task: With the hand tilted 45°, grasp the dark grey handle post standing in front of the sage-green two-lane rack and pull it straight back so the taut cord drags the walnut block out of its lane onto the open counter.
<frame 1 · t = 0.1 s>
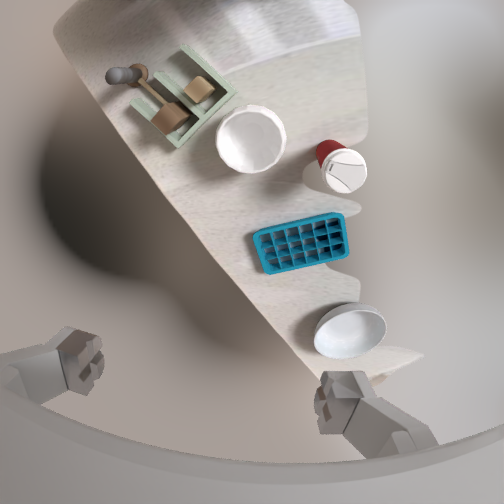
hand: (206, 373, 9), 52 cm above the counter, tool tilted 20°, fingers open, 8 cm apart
lane rack: (183, 93, 50), on the counter
white deep bowl: (252, 132, 54), on the counter
ice cube tray: (301, 238, 67), on the counter
tethered walnut block: (137, 75, 47), on the counter
oak block: (205, 88, 49), resting in lane rack
serving bowl: (346, 319, 80), on the counter
paper cup: (329, 152, 55), on the counter
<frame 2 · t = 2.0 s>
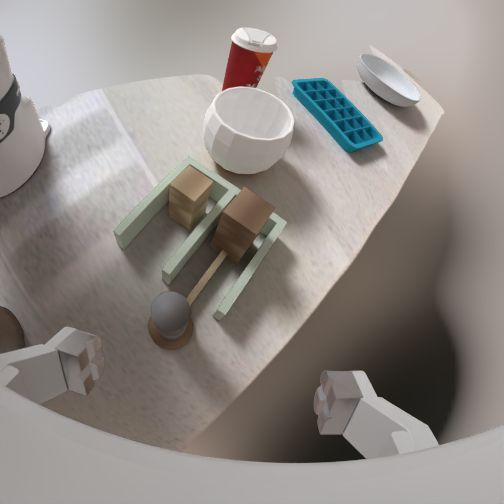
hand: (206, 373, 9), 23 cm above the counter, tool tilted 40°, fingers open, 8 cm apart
lane rack: (197, 242, 36), on the counter
white deep bowl: (237, 157, 44), on the counter
ice cube tray: (332, 118, 56), on the counter
tethered walnut block: (170, 327, 32), on the counter
oak block: (186, 213, 38), resting in lane rack
serving bowl: (379, 91, 69), on the counter
paper cup: (235, 96, 50), on the counter
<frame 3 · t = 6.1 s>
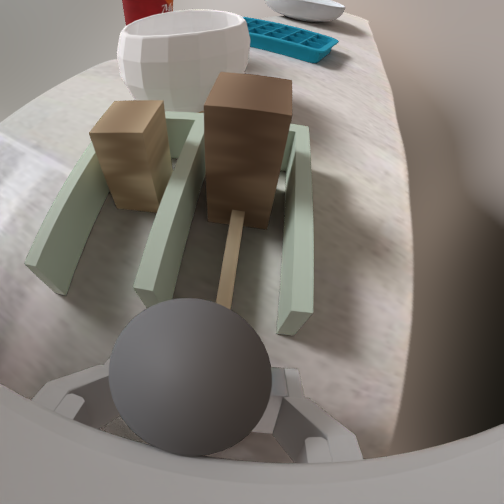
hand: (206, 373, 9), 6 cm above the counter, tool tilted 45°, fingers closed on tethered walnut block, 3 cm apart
lane rack: (183, 224, 19), on the counter
white deep bowl: (185, 104, 27), on the counter
ice cube tray: (272, 45, 41), on the counter
tethered walnut block: (211, 396, 14), on the counter, touching gripper
oak block: (145, 192, 21), resting in lane rack
serving bowl: (300, 18, 56), on the counter
paper cup: (152, 61, 34), on the counter
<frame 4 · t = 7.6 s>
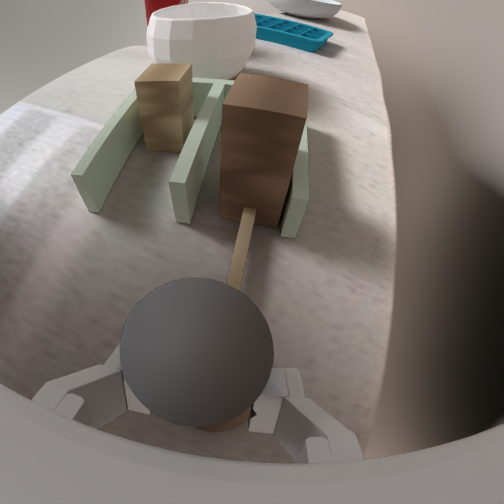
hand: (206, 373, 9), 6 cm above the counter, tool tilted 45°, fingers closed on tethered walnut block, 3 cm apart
lane rack: (203, 160, 23), on the counter
white deep bowl: (200, 80, 31), on the counter
ice cube tray: (274, 37, 44), on the counter
tethered walnut block: (212, 386, 14), on the counter, touching gripper
oak block: (170, 139, 24), resting in lane rack
serving bowl: (300, 15, 60), on the counter
paper cup: (167, 48, 38), on the counter
when the fingers open (6 cm above the counter, at t = 9.5 s): tethered walnut block stays where it is, on the counter.
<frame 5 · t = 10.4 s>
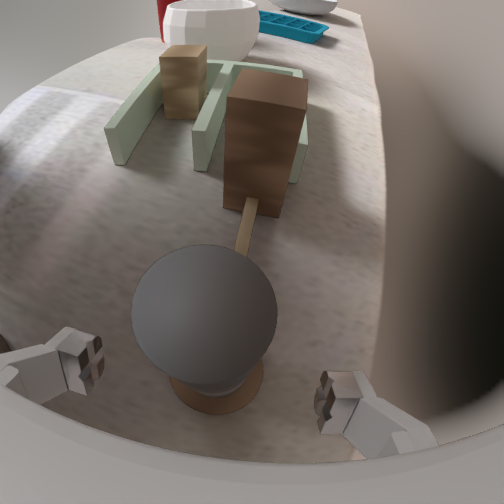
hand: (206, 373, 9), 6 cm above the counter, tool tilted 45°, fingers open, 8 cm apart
lane rack: (215, 125, 26), on the counter
white deep bowl: (209, 65, 34), on the counter
ice cube tray: (274, 31, 47), on the counter
tethered walnut block: (216, 370, 15), on the counter
oak block: (186, 110, 27), resting in lane rack
serving bowl: (298, 12, 63), on the counter
paper cup: (177, 39, 40), on the counter
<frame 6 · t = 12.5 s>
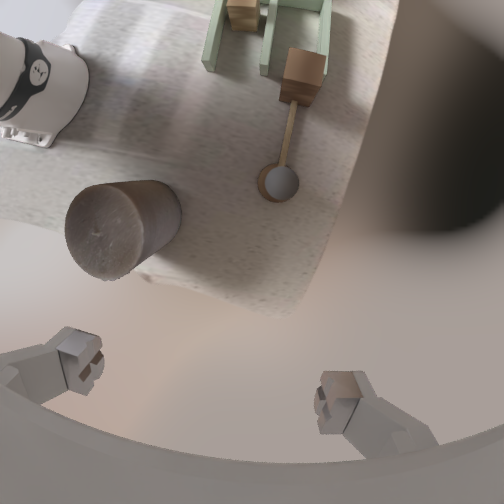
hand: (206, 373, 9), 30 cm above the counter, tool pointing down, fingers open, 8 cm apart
lane rack: (269, 37, 32), on the counter
tethered walnut block: (277, 183, 37), on the counter
pillar candle: (150, 215, 39), on the counter
oak block: (246, 21, 32), resting in lane rack
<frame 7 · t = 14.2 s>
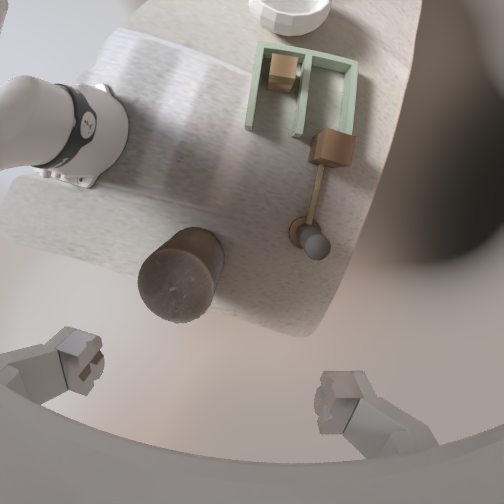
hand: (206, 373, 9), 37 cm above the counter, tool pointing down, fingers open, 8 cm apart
lane rack: (300, 98, 41), on the counter
white deep bowl: (285, 19, 37), on the counter
tethered walnut block: (304, 232, 46), on the counter
pillar candle: (196, 256, 47), on the counter
oak block: (279, 81, 40), resting in lane rack
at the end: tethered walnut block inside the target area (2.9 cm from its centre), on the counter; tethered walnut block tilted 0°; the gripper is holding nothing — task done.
